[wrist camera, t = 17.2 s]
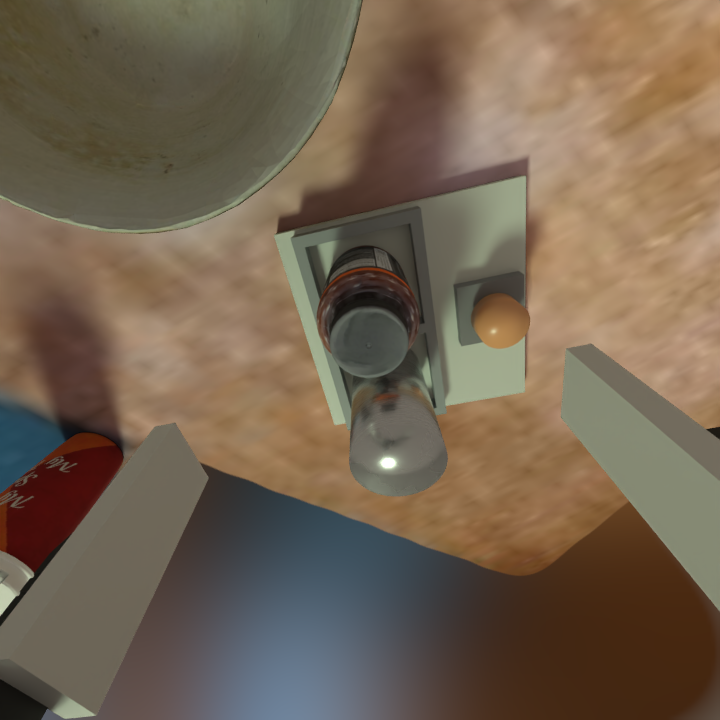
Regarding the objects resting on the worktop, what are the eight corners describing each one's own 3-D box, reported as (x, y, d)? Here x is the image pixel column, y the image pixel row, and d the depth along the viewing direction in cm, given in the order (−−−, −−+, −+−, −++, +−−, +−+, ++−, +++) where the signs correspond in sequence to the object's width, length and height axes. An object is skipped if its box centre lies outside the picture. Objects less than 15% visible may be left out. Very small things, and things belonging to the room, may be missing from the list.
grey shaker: (345, 348, 30) (339, 433, 20) (415, 334, 29) (442, 415, 20) (360, 404, 33) (360, 502, 23) (424, 393, 32) (451, 488, 22)
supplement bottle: (406, 313, 28) (431, 390, 19) (334, 322, 29) (320, 402, 19) (401, 237, 26) (427, 280, 16) (321, 248, 26) (297, 296, 16)
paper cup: (82, 411, 34) (-72, 544, 22) (148, 456, 37) (44, 597, 25) (42, 448, 37) (-118, 588, 25) (107, 488, 40) (-7, 631, 27)
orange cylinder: (469, 298, 26) (477, 307, 24) (518, 288, 26) (530, 297, 24) (472, 341, 28) (479, 352, 26) (519, 332, 27) (529, 343, 26)
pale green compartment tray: (276, 233, 26) (269, 238, 24) (520, 175, 25) (535, 175, 22) (335, 418, 35) (333, 435, 33) (520, 386, 33) (531, 401, 31)
